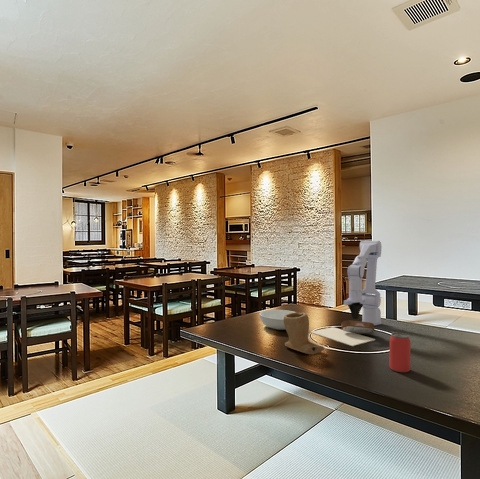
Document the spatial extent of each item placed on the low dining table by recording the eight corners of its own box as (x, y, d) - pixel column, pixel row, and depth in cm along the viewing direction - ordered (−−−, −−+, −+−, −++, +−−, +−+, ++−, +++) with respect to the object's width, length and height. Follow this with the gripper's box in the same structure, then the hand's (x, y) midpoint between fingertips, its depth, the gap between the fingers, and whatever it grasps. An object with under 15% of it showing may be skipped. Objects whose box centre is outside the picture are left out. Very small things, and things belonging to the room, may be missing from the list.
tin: (371, 329, 162) (376, 321, 156) (372, 335, 160) (377, 328, 154) (339, 326, 164) (342, 318, 157) (339, 332, 162) (343, 325, 155)
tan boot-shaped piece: (277, 347, 140) (277, 311, 140) (298, 343, 146) (299, 308, 146) (302, 359, 127) (303, 319, 127) (325, 353, 134) (325, 315, 133)
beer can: (385, 366, 121) (386, 332, 121) (403, 365, 121) (403, 332, 121) (395, 373, 114) (396, 338, 114) (414, 373, 115) (414, 337, 115)
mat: (332, 327, 171) (332, 327, 171) (375, 340, 152) (375, 339, 152) (310, 332, 162) (310, 331, 162) (352, 346, 143) (352, 345, 143)
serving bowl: (267, 334, 159) (267, 320, 158) (254, 323, 179) (254, 310, 179) (308, 331, 164) (308, 317, 164) (290, 321, 184) (290, 308, 184)
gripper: (357, 287, 170) (357, 315, 170) (338, 290, 161) (338, 318, 161) (370, 289, 164) (369, 318, 164) (350, 292, 156) (350, 321, 156)
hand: (355, 318), depth 162 cm, fingers closed
